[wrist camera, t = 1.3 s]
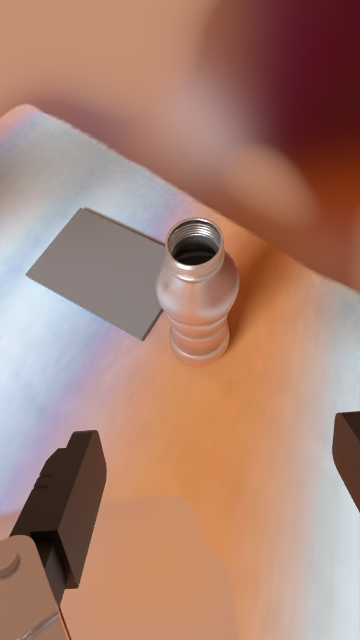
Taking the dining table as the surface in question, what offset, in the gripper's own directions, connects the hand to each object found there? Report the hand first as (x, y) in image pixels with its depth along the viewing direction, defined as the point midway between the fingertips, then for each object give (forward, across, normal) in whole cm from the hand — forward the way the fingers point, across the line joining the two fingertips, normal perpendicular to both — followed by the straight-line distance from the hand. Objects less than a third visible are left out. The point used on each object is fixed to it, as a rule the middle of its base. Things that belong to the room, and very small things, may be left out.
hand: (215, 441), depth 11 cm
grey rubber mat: (+34, +11, +2) cm, 35 cm away
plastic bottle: (+26, 0, +10) cm, 28 cm away
